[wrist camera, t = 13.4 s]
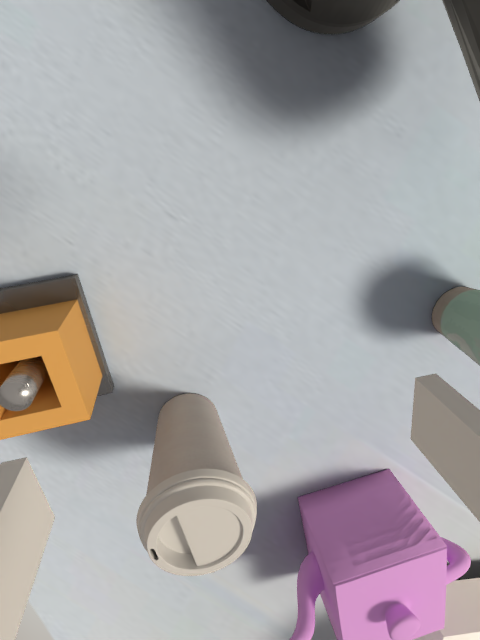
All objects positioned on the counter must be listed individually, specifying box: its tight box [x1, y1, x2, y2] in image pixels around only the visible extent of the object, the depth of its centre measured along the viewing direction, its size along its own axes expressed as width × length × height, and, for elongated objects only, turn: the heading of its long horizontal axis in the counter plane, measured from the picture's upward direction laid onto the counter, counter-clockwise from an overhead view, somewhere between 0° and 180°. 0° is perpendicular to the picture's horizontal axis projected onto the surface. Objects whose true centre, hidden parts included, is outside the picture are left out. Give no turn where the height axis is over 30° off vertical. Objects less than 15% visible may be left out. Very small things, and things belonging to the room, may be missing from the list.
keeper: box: [0, 274, 114, 411], centre depth 32 cm, size 12×9×9 cm
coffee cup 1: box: [137, 393, 257, 576], centre depth 35 cm, size 10×10×15 cm
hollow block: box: [0, 300, 102, 440], centre depth 32 cm, size 8×8×7 cm
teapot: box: [290, 469, 471, 640], centre depth 47 cm, size 15×25×14 cm, turn 101°
